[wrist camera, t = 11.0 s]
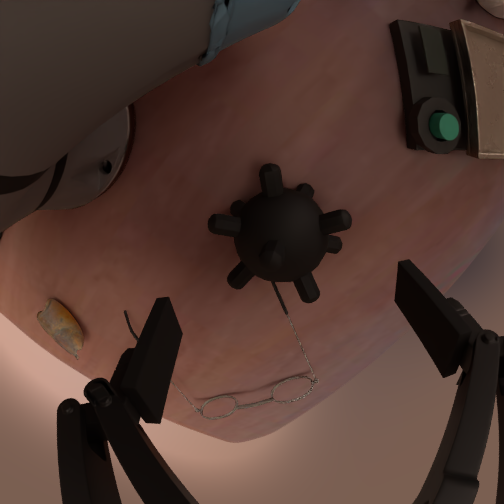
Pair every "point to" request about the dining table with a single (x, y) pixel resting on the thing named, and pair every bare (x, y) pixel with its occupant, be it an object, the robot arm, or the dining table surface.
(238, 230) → the toy ball
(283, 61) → the dining table surface
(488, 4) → the cup
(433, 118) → the tare button
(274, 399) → the eyeglasses
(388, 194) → the dining table surface
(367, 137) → the dining table surface
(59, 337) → the yellow beige chunk
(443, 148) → the scale
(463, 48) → the pan
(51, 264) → the dining table surface
